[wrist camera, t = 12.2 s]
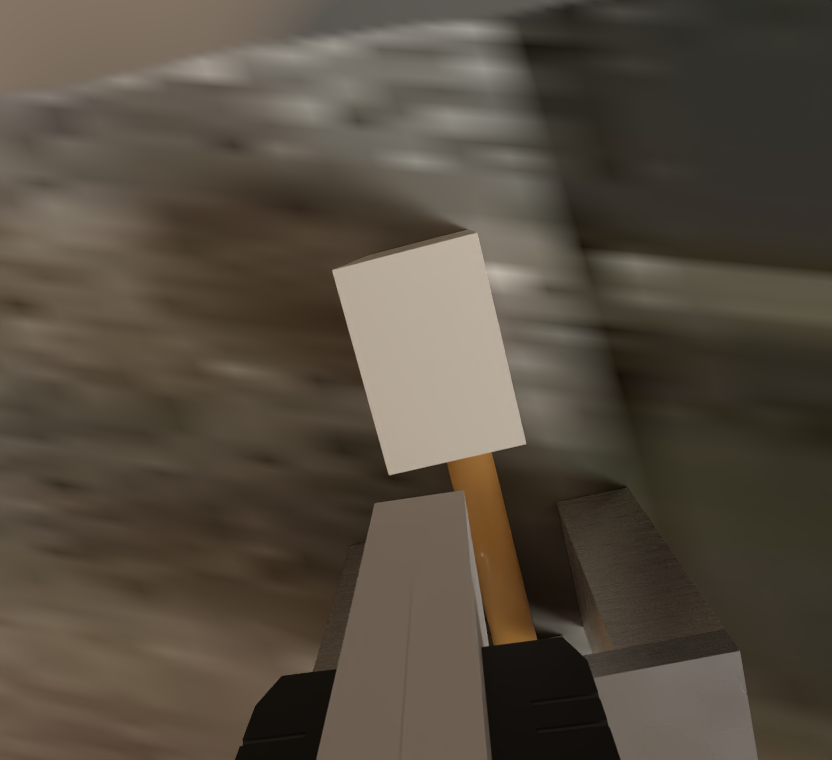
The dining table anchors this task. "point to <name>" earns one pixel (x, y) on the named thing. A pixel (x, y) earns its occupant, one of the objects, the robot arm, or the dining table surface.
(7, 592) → the dining table surface
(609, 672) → the housing
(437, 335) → the white and wooden mallet
